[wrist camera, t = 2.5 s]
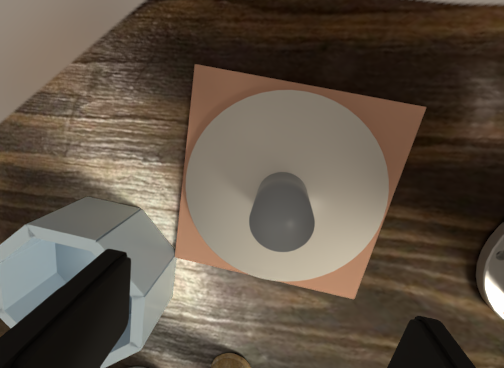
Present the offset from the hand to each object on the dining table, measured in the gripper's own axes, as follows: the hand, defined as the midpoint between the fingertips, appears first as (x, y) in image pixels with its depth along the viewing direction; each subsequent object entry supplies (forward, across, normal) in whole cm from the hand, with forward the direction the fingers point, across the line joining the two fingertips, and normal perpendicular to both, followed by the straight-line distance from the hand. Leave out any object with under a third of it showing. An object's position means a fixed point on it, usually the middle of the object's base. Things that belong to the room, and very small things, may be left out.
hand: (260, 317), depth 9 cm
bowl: (+14, +14, +11) cm, 23 cm away
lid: (+13, -1, 0) cm, 13 cm away
